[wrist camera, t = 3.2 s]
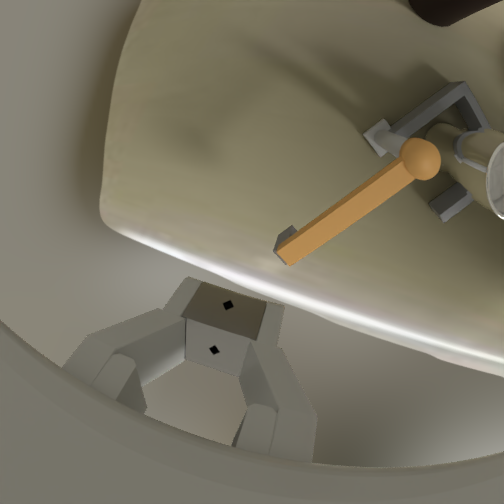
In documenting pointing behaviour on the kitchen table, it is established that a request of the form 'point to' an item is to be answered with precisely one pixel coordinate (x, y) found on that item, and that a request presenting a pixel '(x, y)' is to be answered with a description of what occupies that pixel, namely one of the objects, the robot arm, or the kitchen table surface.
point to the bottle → (448, 9)
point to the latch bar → (361, 200)
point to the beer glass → (473, 162)
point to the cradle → (395, 135)
